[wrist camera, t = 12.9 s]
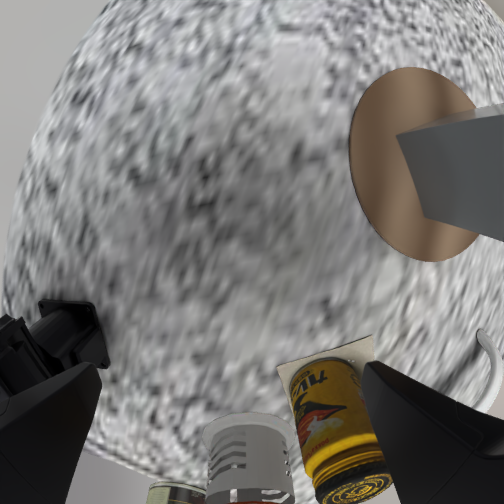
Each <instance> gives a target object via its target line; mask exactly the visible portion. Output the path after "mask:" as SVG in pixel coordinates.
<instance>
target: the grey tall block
mask: <svg viewBox="0 0 504 504" xmlns="http://www.w3.org/2000/svg"><path fill="white" fill-rule="evenodd" d="M395 136H396V138H397V140H398V143H399V145H400V148H401V150H402V153H403V155H404V158H405V160H406V163H407V166H408V168H409V171H410V174H411V177H412V179H413V182H414V185H415V188H416V191H417V194H418V197H419V201H420V204H421V207H422V211H423V214H424V217H425V218H428V219H431V220H435V221H439V222H442V223H446V224H449V225H452V226H456V227H459V228H462V229H466V230H469V231H472V232H475V233H478V234H482V235H485V236H488V237H491V238H494V239H497V240H499V241H502V242H504V103H502V104H496V105H491V106H486V107H481V108H476V109H471V110H466V111H462V112H457V113H453V114H449V115H446V116H444V117H441V118H438V119H436V120H433V121H430V122H428V123H425V124H423V125H420V126H417V127H415V128H412V129H410V130H407V131H405V132H402V133H400V134H397V135H395Z"/></svg>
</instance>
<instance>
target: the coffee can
mask: <svg viewBox="0 0 504 504" xmlns="http://www.w3.org/2000/svg"><path fill="white" fill-rule="evenodd" d="M205 498H206V491H205V490H202V489H200V488H197V487H193V486H190V485H186V484H181V483H174V482H158V483H154V484H152V485H151V486H150V487H149V494H148V498H147V502H146V504H207V503H206V501H205Z"/></svg>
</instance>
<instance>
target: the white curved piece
mask: <svg viewBox="0 0 504 504" xmlns="http://www.w3.org/2000/svg"><path fill="white" fill-rule="evenodd" d="M477 339H478V341H479V343H480V344H481V346H482V347H483V348H484V349H485V351H486V352H487V354H488V355H489V358H490V362H491V371H490V376H489V380H488V383H487V385H486V388H485V390H484V392H483V393H482V395H481V397H480V398H479V400H478V401H477V402H476V403H475V405H474V406H473V407H472V408H473V409H475V410H477V411H480V412H483V413H486V412H487V411H488V409H489V408H490V407H491V405H492V404H493V402H494V400H495V398H496V396H497V394H498V392H499V389H500V387H501V383H502V379H503V373H504V367H503V360H502V357H501V354H500V352H499V350H498V349H497V347H496V346H495V344H494V343H493V341H492V340H491V338H490V337H489V336H488V335H487V334H486V333H485V332H484V331H483V330H481V329H480V330H479V331H478V333H477Z"/></svg>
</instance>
